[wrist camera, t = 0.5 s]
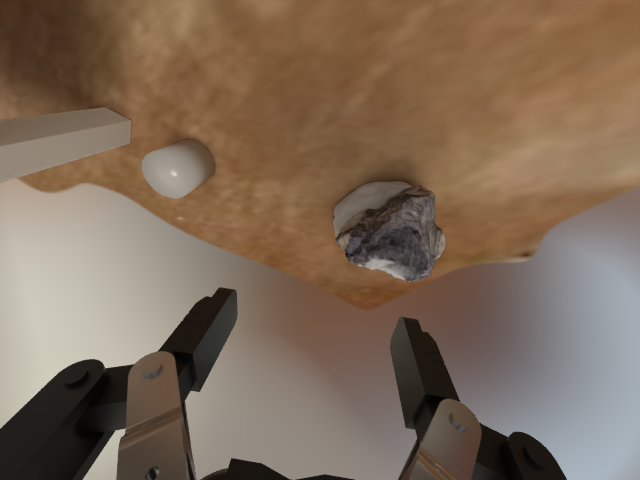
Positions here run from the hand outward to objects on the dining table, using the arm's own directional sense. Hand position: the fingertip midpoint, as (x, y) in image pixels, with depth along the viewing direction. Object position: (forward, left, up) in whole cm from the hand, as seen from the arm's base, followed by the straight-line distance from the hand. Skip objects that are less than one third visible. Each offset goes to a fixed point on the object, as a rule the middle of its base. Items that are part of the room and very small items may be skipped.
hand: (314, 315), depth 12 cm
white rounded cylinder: (+8, -16, -22) cm, 29 cm away
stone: (+2, +8, -22) cm, 24 cm away
